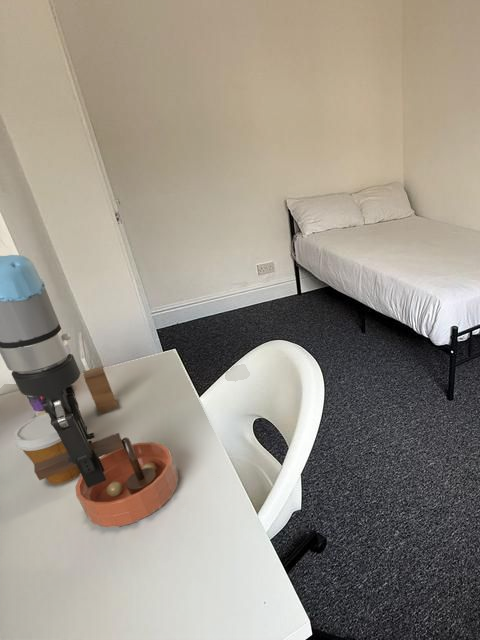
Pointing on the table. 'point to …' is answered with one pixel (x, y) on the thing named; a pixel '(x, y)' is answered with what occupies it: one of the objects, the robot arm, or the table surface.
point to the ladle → (100, 448)
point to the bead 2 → (150, 466)
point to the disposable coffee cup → (43, 445)
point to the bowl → (125, 505)
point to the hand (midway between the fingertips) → (96, 477)
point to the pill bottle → (36, 403)
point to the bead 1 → (114, 488)
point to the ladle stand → (100, 390)
